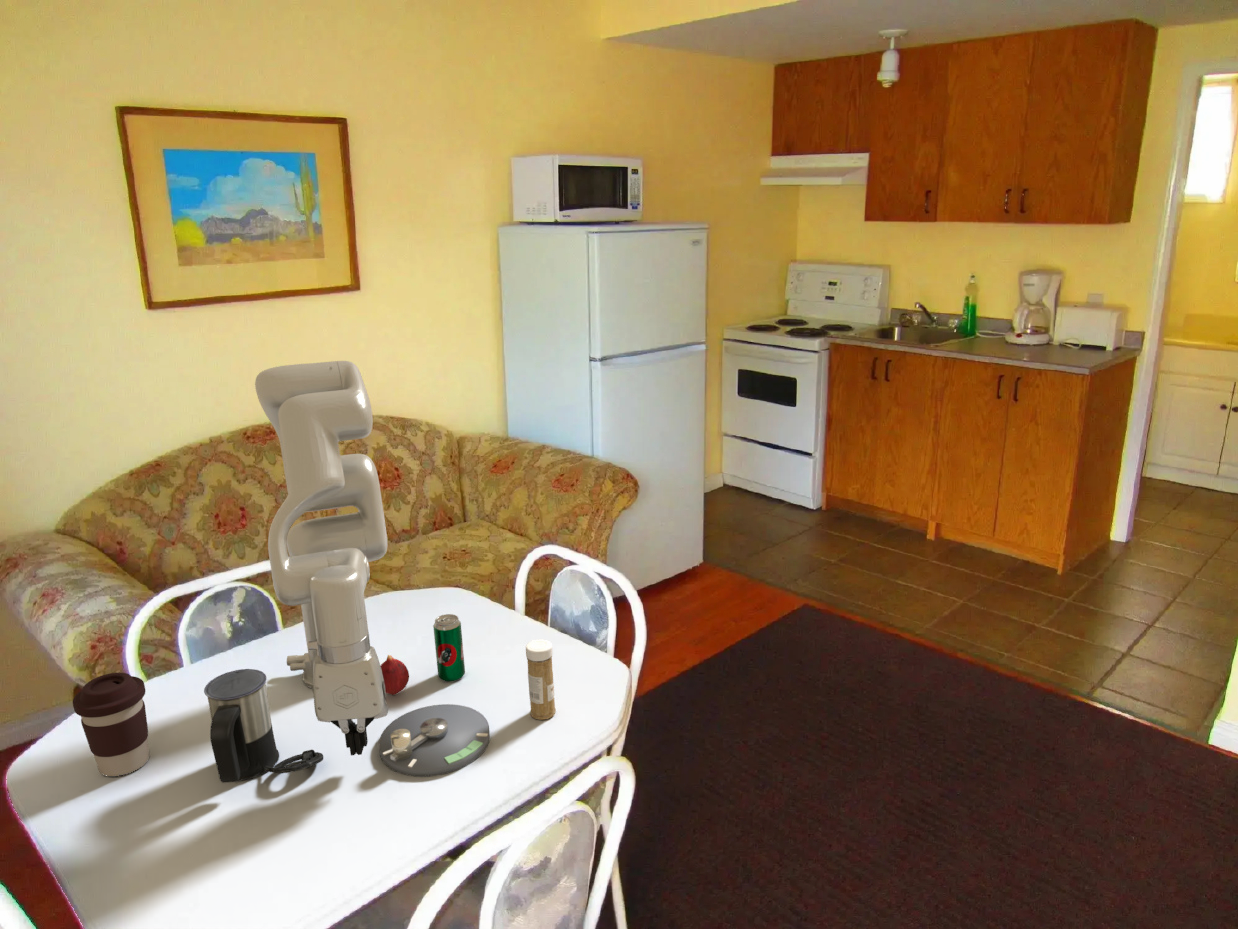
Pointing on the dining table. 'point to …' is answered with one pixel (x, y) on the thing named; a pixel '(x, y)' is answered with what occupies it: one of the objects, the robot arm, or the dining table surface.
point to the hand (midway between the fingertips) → (357, 749)
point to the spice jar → (540, 679)
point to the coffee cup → (114, 722)
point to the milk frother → (246, 728)
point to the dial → (438, 741)
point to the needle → (403, 742)
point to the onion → (394, 675)
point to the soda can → (449, 648)
